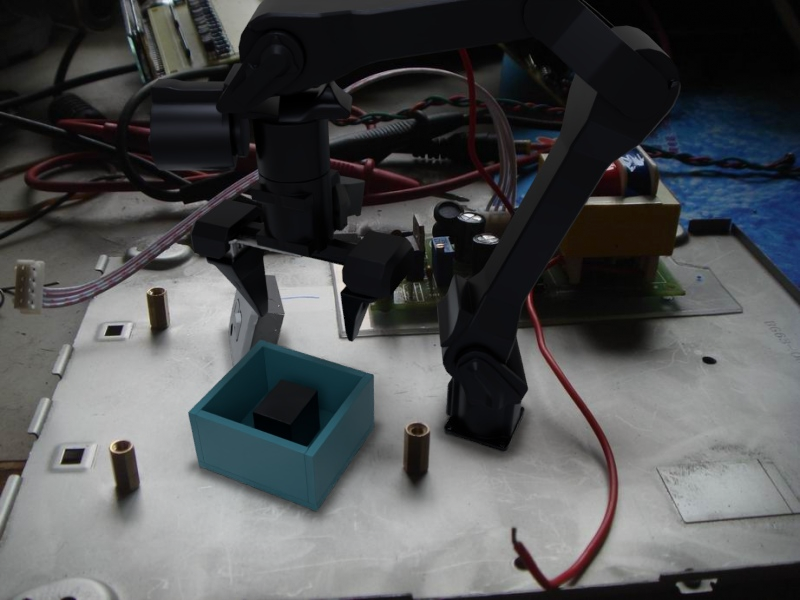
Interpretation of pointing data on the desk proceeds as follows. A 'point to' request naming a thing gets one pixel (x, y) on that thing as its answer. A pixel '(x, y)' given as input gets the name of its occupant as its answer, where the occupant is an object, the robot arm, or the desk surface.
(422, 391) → the desk surface
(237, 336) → the electrical switch
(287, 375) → the bin
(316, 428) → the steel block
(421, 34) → the robot arm
